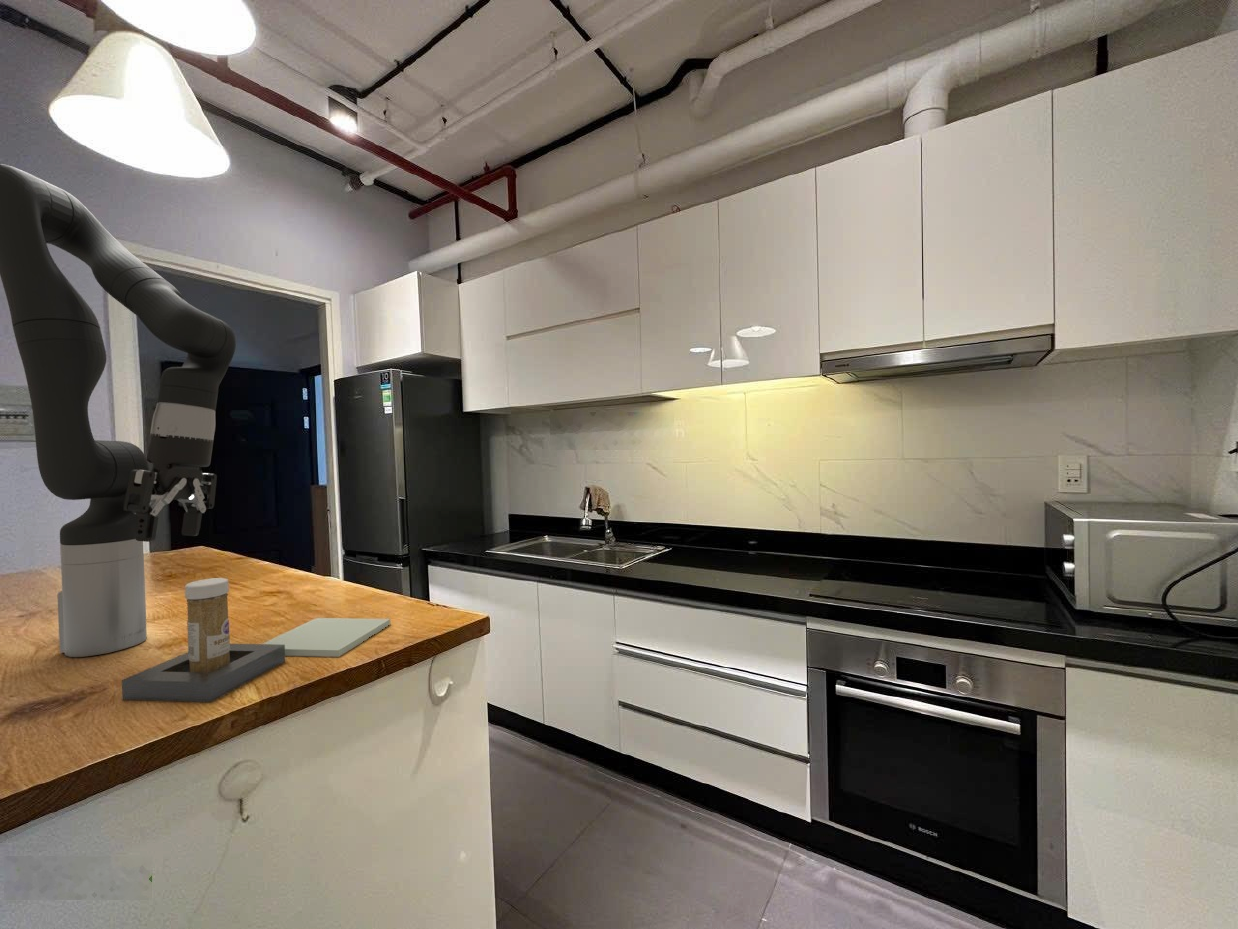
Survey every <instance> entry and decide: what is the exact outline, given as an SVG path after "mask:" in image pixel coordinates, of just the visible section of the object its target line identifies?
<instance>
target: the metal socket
mask: <svg viewBox="0 0 1238 929" xmlns="http://www.w3.org/2000/svg"><path fill="white" fill-rule="evenodd" d="M229 652H230V653H229V654H230V663H229V664H227V665H225V666H223V667H221V668H219V669H217V670H215V671H213V672H211V673H198V672H190V661H189V657H188V652H185V653H183V654H180V655H178V656H176V657H173V658H171V659H169V660H168V659H167V660H166V661H163V662H160V663H159V664H157V665H154V666H151V667H149V668H148V669H144V670H142V671H140V672H137V673H135V674H133V675H130V676H128V677H126V678H122V679H121V689H122V690H121V692H122V693H121V694H122V700H123V701H125V700H126V701H154V702H155V701H156V702H157V701H159V702H187V703H212V702H215V701H216V700H218V699H219V698H221V697H224V696H225V695H227V694H229V693H231V692H232V691H234V690H237V689H238V688H239V687H242V686H243V685H245V684H247V683H248V682H251V681H252V680H254V679H256V678H258V677H260V676H262V675H264V674H265V673H267V672H269V671H271V670H273V669H274V668H277V667H278V666H280V665H281V664H284V663H285V662H286V656H285V645H278V644H263V643H230V651H229ZM261 674H262V675H261ZM250 680H251V681H250Z"/></svg>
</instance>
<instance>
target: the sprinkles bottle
mask: <svg viewBox="0 0 1238 929" xmlns="http://www.w3.org/2000/svg"><path fill="white" fill-rule="evenodd" d="M229 591H230V585H229V579H228V578H225V577H215V578H212V577H211V578H205V579H199V580H193V581H192V582H188V583H186V584H185V586H184V598H185V599H186V602H187V603H186V604H187V607H186V608H187V620H186V621H187V622H186V624H187V649H188V650H187V651H188V657H189V661H190V672H198V673H211V672H213V671H215V670H217V669H219V668H221V667H223V666H225V665H227V664H229V663H230V654H229V653H230V652H229V651H230V644H231V643H230V642H231V641H230V638H231V637H230V619H229V609H228V608H229V607H228V606H229V604H228V602H229V601H228V595H229V594H228V593H229Z"/></svg>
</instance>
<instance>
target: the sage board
mask: <svg viewBox="0 0 1238 929" xmlns="http://www.w3.org/2000/svg"><path fill="white" fill-rule="evenodd" d="M388 625H389V626H390V625H391V619H390V618H351V617H350V618H343V617H342V618H338V617H336V618H335V617H327V618H326V617H315V618H314V619H312V620H311V619H310V620H309V621H307V622H304V623H303V624H300V625H299V626H297V627H294V628H292V629H290V630H288V631H287V632H286V631H285V632H283V633H281V634H279V635H278V636H275V637H273V638H271V639H269V640H267V641H265V642H263V643H262V644H278V645H285V657H286V656H287V657H288V656H289V657H326V658H327V657H330V658H340V657H341V656H342V655H344V654H346V653H347V652H349V651H350V650H353V649H354V648H356V647H357V646H359V645H360V644H362V643H363V641H364V642H365V641H366V640H367V641H368V639H370V638H372V637H373V636H375V635H376V634H378V633H379V632H381V631H383V630H384V629H386V628H387V627H389V626H388ZM385 627H386V628H385ZM382 629H383V630H382ZM374 634H375V635H374ZM372 635H373V636H372ZM371 636H372V637H371ZM369 637H370V638H369Z"/></svg>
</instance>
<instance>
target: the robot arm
mask: <svg viewBox="0 0 1238 929" xmlns="http://www.w3.org/2000/svg"><path fill="white" fill-rule="evenodd" d="M48 244H49V245H52V246H54V247H57V248H58V249H61V250H63V251H65V252H66V253H69V254H70V255H72V256H73V257H75V258H77V259H79V260H81V261H82V262H83V263H85V264H86V265H87V266H88V267H89V268H90V269H91V272H92V275H93V277H94V279H95V280H96V282H97V283H98V284H99V286H100V287H101V288H102V289H103V290H104V291H105V292H106V293H107V294H108V295H110V296H111V298H113V299H115V300H116V301H117V302H119V303H120V304H121V305H122V306H123V307H125V308H126V309H128V310H129V311H130V312H131V313H133V314H134V315H136V316H137V317H138V319H139V321H141V322H142V324H143V325H144V326H145V327H146V329H147V330H148V331H149V332H151V334H152V335H153V336H155V337H156V338H157V339H158V340H160V341H161V342H163V343H164V344H165V345H167V346H169V347H170V348H173V349H175V350H178V351H180V352H184V353H186V354H187V356H186V359H185V361H184V362H183V364H182V366H171V367H168V368H166V369H165V370H163V371H162V373H161V377H160V381H159V386H158V387H159V388H158V393H157V394H158V395H157V400H156V402H157V403H156V406H155V409H154V412H153V416H152V419H151V420H152V421H151V427H150V434H149V440H148V446H147V454H146V455H145V453H144V451H142V449H141V448H140V447H139V446H137V445H136V444H133V443H131V442H128V441H121V440H96V439H95V438H94V435H93V433H92V429H91V425H90V420H89V419H90V418H89V401H90V398H91V396H92V394H93V392H94V390H95V388H96V387H97V384H98V382H99V380H100V379H101V377H102V375H103V372H104V370H105V368H106V364H107V360H108V359H107V351H106V347H105V343H104V338H103V334H102V331H101V330H102V329H101V327H100V326H101V325H100V323H99V320H98V319H97V316H96V315H95V313H94V311H93V310H92V308H91V307H90V305H89V303H87V301H86V300H85V299H84V298H83V297H82V295H81V294H80V293H79V292H78V290H77V289H76V288H75V287H74V286H73V284H72V283H71V282H70V280H68V278H67V277H66V276H65V275H64V274H63V272H62V271H61V269H60V268H59V266H57V263H56V262H55V260H54V259H53V257H52V255H51V252H50V250H49V247H48ZM0 280H1V282H2V287H3V290H4V294H5V297H6V301H7V304H8V308H9V313H10V317H11V324H12V328H13V329H12V330H13V333H14V338H15V341H16V345H17V349H18V353H19V356H20V359H21V362H22V367H23V369H24V370H23V371H24V373H25V374H24V375H25V380H26V382H27V387H28V388H27V389H28V394H29V398H30V404H31V409H32V416H33V424H34V425H33V426H34V437H35V448H36V458H37V466H38V471H39V475H40V478H41V479H42V481H43V485H44V486H45V487H46V489H48V491H49V492H50V493H51V494H53V495H54V496H56V497H58V498H60V499H63V500H67V501H68V500H70V501H77V500H78V501H79V500H89V506H88V507H87V510H85V512H84V513H82V514H81V515H80V516H79V517H76V518H74V519H73V520H71V521H69V522H67V523H65V524H64V525H63V526H61V528H60V530H59V546H60V548H59V549H60V569H61V571H60V572H61V591H59V592H58V593H57V616H58V617H57V618H58V619H57V620H58V643H59V653H64V656H66V657H70V658H81V657H82V658H83V657H91V656H97V655H104V654H109V653H110V654H111V653H112V652H117V651H121V650H125V649H128V648H131V647H134V646H137V645H139V644H141V643H143V642H145V641H146V640H147V638H148V636H147V635H148V633H147V608H146V607H147V605H146V604H147V603H146V584H145V583H146V582H145V581H146V578H145V553H144V542H154V541H155V540H156V537H157V536H156V535H157V530H158V523H159V516H158V515H159V513H160V511H162V509H163V508H164V506H166V505H169V504H170V503H171V502H172V501H173V500H175V501H178V502H179V503H181V504H182V506H183V509H184V510H185V512H184V513H183V519H182V526H181V531H180V532H181V535H182V536H185V537H186V536H187V537H196V536H198V535H199V534H200V530H201V525H202V517H203V514H205V512H206V511H207V510H208V509H211V510H213V508H214V507H215V500H216V492H217V491H216V490H217V489H216V488H217V480H218V479H217V478H218V475H217V474H216V473H210V472H203V470H202V468H207V467H209V466H210V465H211V461H212V454H213V446H214V439H215V437H214V436H215V432H216V410H217V402H218V394H219V386H220V384H221V383H222V380H223V379H224V377H225V375H226V373H227V371H228V369H229V366H230V364H231V363H232V360H233V358H234V355H235V353H236V337H235V334H234V330H233V329H232V328H231V326H230V325H229V324H228V323H227V322H225V321H224V320H222V319H219V318H218V317H215V316H213V315H211V314H210V313H207V312H204V311H203V310H200V309H199V308H196V307H195V306H193V305H192V304H190V303H189V302H187V301H186V300H185V299H184V296H183V294H182V293H181V292H180V291H179V290H178V289H177V288H176V287H175V286H174V285H173V284H171V283H170V282H169V281H168V280H167V279H165V278H164V277H163V276H162V275H160V274H159V273H158V272H156V271H155V270H153V268H151V267H149V266H148V265H147V264H146V263H144V262H143V261H142V260H140V259H139V258H138V257H137V256H135V255H134V254H133V253H132V252H131V251H129V250H128V249H127V248H126V247H125V246H124V245H123V244H122V243H121V242H120V241H119V240H118V239H116V238H115V237H114V236H113V235H112V234H111V232H109V230H107V229H106V228H105V226H104V225H102V223H101V222H100V220H98V219H97V218H96V217H95V215H94V214H93V213H92V212H91V211H90V210H89V209H88V208H87V207H86V206H85V205H84V204H83V202H81V201H80V200H79V199H78V198H76V196H74V195H72V193H70V192H68V191H66V190H64V189H63V188H60V187H59V186H56V185H54V184H52V183H50V182H47V181H45V180H43V179H41V178H40V177H37V176H36V175H34V174H31V173H29V172H27V171H24V170H21V169H20V168H17V167H15V166H11V165H8V164H5V163H4V164H3V163H0ZM149 463H151V464H152V468H151V470H150V467H149ZM205 495H206V500H204V499H205Z"/></svg>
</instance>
